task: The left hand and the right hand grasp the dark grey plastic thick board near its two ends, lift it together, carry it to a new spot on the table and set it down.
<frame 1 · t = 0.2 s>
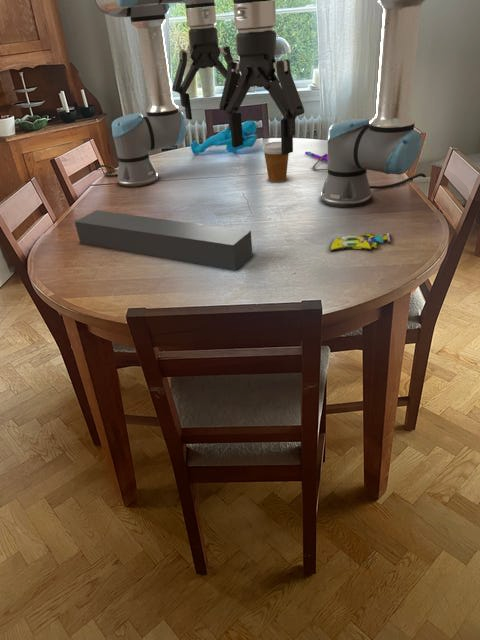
left hand: (211, 115, 136), 28 cm above the table, tool pointing down, fingers open, 13 cm apart
right hand: (261, 149, 100), 28 cm above the table, tool pointing down, fingers open, 13 cm apart
toy 2: (359, 243, 122), on the table
toy: (224, 152, 211), on the table
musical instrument: (322, 163, 185), on the table
thick board: (161, 248, 129), on the table
disposable coffee cup: (277, 179, 172), on the table
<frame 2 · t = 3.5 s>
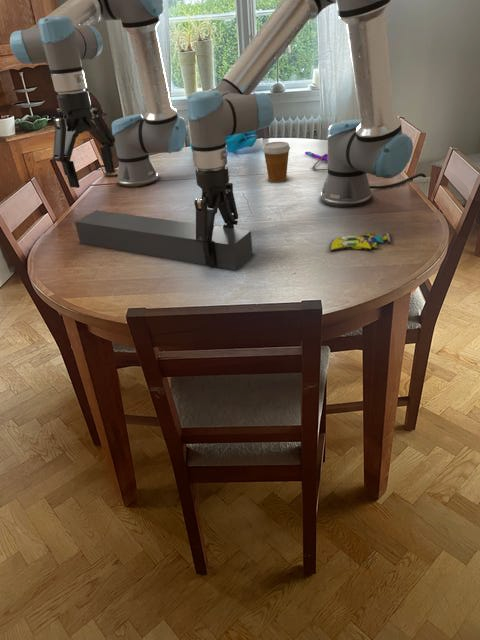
left hand: (93, 179, 128), 18 cm above the table, tool pointing down, fingers open, 13 cm apart
right hand: (221, 257, 121), 0 cm above the table, tool pointing down, fingers closed on thick board, 9 cm apart
thick board: (161, 248, 129), on the table, touching right hand
everything else where it was.
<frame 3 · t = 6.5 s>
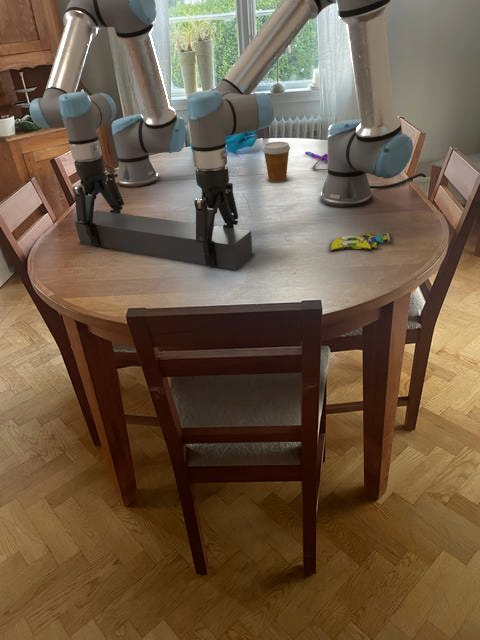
left hand: (108, 238, 137), 0 cm above the table, tool pointing down, fingers closed on thick board, 9 cm apart
right hand: (221, 257, 121), 0 cm above the table, tool pointing down, fingers closed on thick board, 9 cm apart
thick board: (161, 248, 129), on the table, touching left hand, right hand
everything else where it was.
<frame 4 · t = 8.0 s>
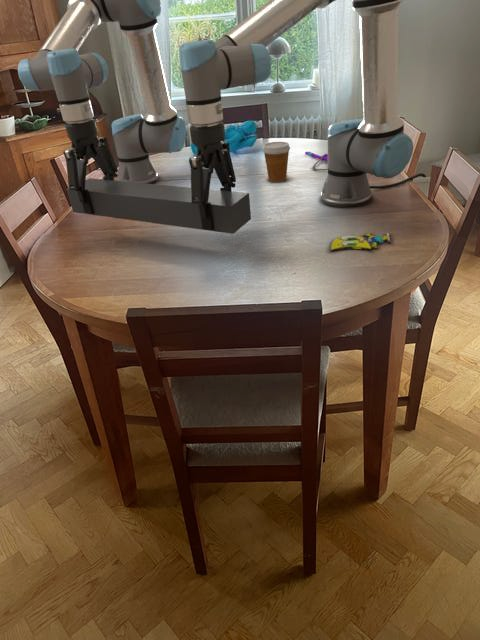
left hand: (101, 206, 132), 10 cm above the table, tool pointing down, fingers closed on thick board, 9 cm apart
right hand: (218, 221, 116), 10 cm above the table, tool pointing down, fingers closed on thick board, 9 cm apart
thick board: (156, 215, 124), point 9 cm above the table, touching left hand, right hand
everything else where it was.
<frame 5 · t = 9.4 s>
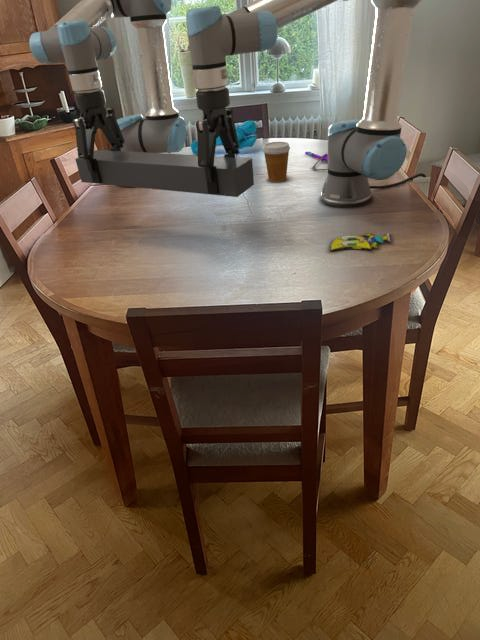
left hand: (109, 176, 137), 15 cm above the table, tool pointing down, fingers closed on thick board, 9 cm apart
right hand: (223, 186, 120), 15 cm above the table, tool pointing down, fingers closed on thick board, 9 cm apart
thick board: (162, 183, 129), point 15 cm above the table, touching left hand, right hand
everything else where it was.
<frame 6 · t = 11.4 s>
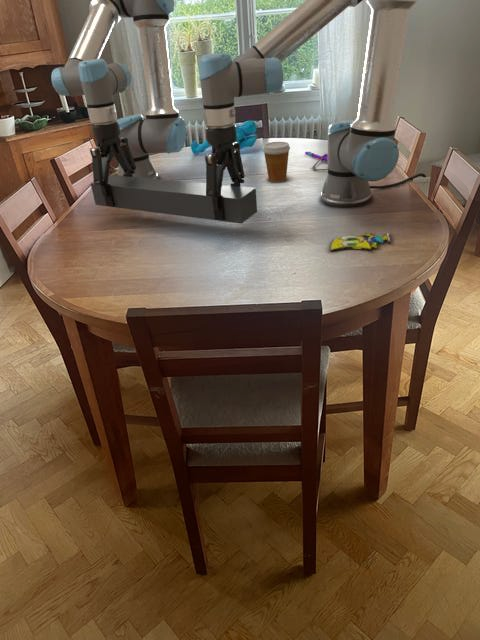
left hand: (121, 200, 146), 6 cm above the table, tool pointing down, fingers closed on thick board, 9 cm apart
right hand: (228, 213, 130), 6 cm above the table, tool pointing down, fingers closed on thick board, 9 cm apart
thick board: (171, 208, 138), point 6 cm above the table, touching left hand, right hand
everything else where it was.
when the left hand's fingers open (2 cm above the table, at t = 12.7 s): thick board drops 1 cm, on the table.
when the right hand's fingers open (2 cm above the table, at t = 12.7 s): thick board drops 1 cm, on the table.
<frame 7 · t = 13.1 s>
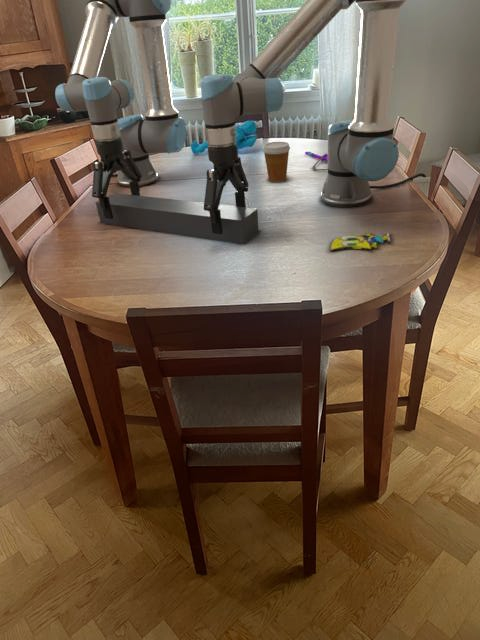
left hand: (123, 210, 148), 3 cm above the table, tool pointing down, fingers open, 13 cm apart
right hand: (230, 223, 132), 3 cm above the table, tool pointing down, fingers open, 13 cm apart
thick board: (175, 226, 142), on the table
everything else where it was.
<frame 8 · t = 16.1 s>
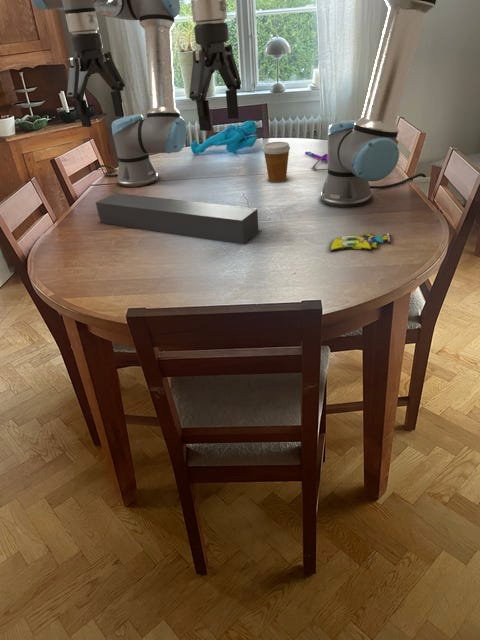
left hand: (104, 121, 134), 29 cm above the table, tool pointing down, fingers open, 13 cm apart
right hand: (220, 124, 118), 29 cm above the table, tool pointing down, fingers open, 13 cm apart
nothing on the table moved.
at the end: thick board inside the target area (0.1 cm from its centre), on the table; thick board tilted 0°; thick board never tilted more than 2° during the clip; both hands held the thick board at the same time; the left hand is holding nothing; the right hand is holding nothing; thick board at rest at the end (0.0 cm/s) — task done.
